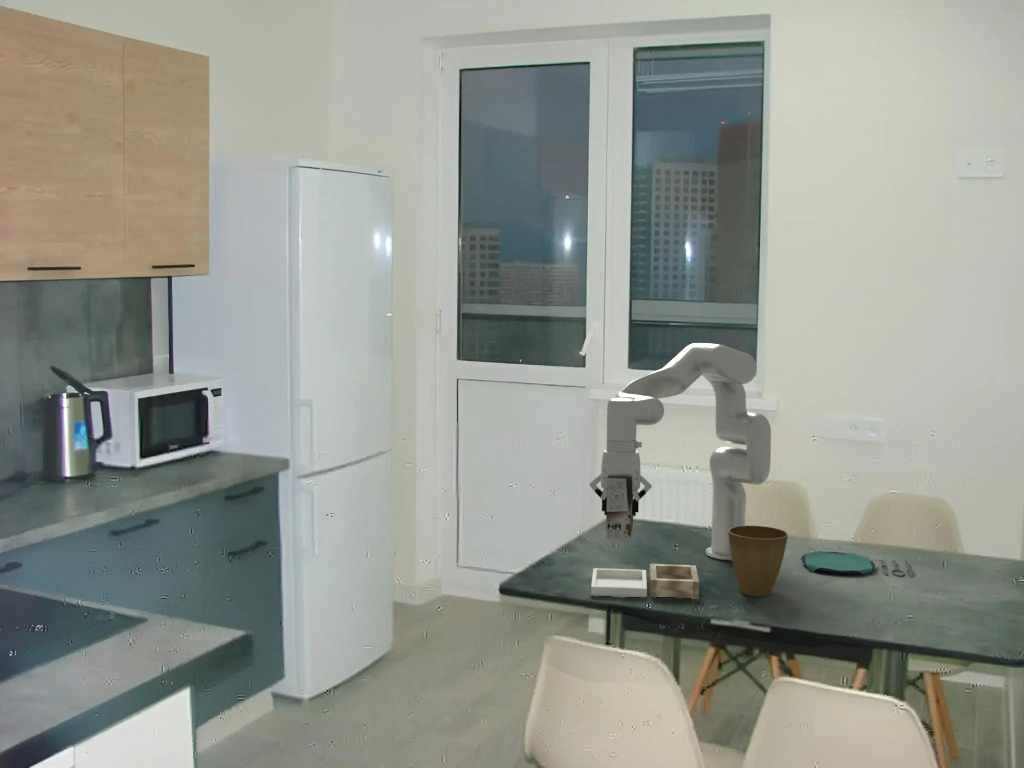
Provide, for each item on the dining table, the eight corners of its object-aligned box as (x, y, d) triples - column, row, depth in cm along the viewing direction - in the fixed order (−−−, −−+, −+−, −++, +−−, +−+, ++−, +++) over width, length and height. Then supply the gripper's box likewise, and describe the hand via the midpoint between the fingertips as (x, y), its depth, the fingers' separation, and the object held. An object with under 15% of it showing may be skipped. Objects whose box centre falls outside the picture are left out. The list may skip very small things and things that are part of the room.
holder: (695, 581, 284) (695, 565, 283) (698, 599, 269) (699, 581, 268) (649, 580, 285) (649, 563, 284) (650, 597, 270) (650, 579, 270)
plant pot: (783, 604, 265) (785, 540, 264) (723, 597, 270) (724, 535, 268) (788, 587, 279) (790, 527, 278) (730, 581, 284) (731, 522, 282)
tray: (645, 579, 286) (645, 569, 286) (646, 598, 269) (646, 588, 269) (593, 577, 288) (593, 568, 287) (590, 596, 271) (591, 586, 271)
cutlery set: (800, 555, 312) (800, 547, 311) (909, 564, 304) (909, 556, 304) (801, 574, 292) (801, 566, 292) (917, 584, 285) (918, 576, 285)
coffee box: (630, 540, 272) (631, 478, 270) (605, 539, 273) (606, 477, 271) (633, 532, 281) (634, 471, 279) (609, 531, 282) (610, 470, 280)
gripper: (655, 444, 277) (653, 512, 279) (587, 443, 279) (587, 510, 281) (655, 449, 270) (654, 519, 272) (586, 447, 272) (585, 516, 274)
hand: (620, 514), depth 276 cm, fingers closed on coffee box, 6 cm apart
